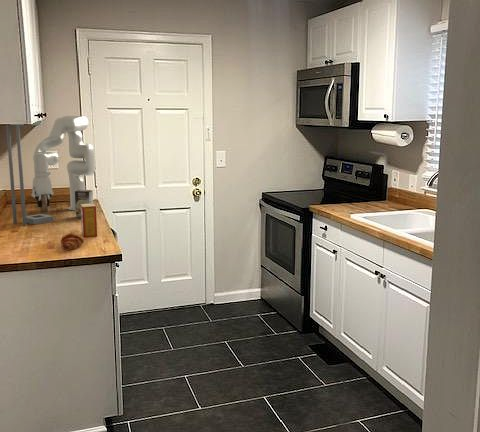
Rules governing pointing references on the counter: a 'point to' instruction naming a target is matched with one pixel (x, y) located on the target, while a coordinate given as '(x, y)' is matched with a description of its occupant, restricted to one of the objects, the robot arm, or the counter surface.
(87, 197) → the coffee box
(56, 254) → the counter surface
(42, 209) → the peg
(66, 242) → the croissant
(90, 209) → the baking soda box
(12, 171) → the grey two-post stand
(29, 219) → the socket
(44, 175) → the robot arm
